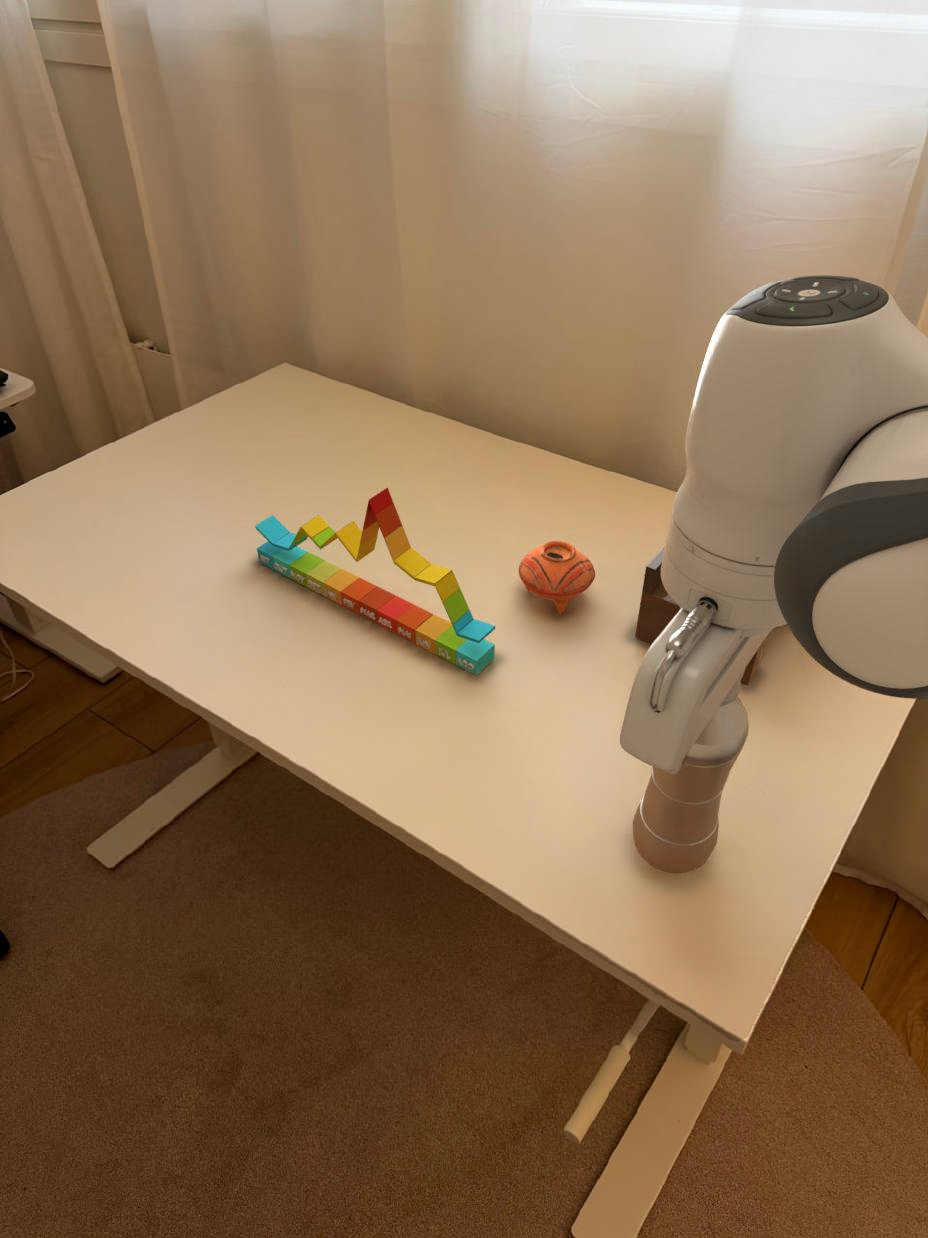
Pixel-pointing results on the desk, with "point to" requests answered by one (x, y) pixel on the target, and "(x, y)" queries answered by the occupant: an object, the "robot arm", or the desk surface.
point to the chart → (372, 602)
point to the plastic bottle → (691, 794)
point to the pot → (556, 572)
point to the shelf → (669, 612)
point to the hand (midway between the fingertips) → (698, 720)
